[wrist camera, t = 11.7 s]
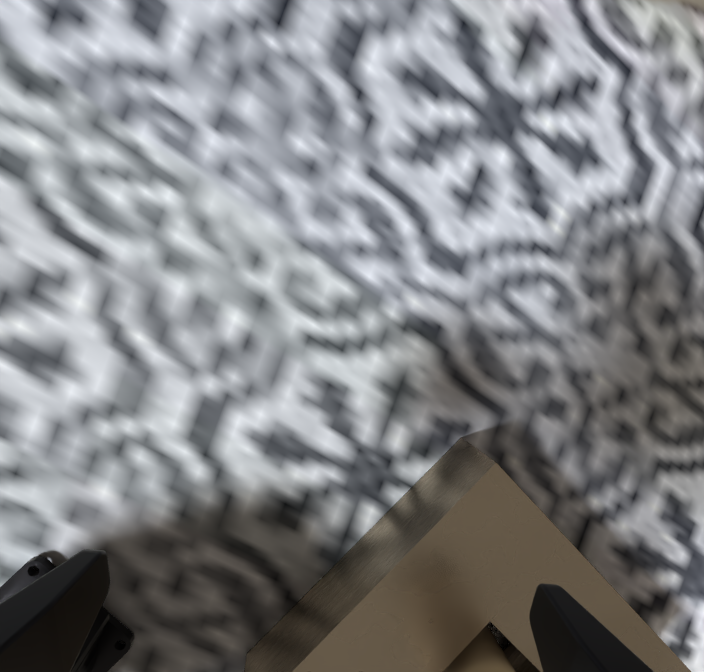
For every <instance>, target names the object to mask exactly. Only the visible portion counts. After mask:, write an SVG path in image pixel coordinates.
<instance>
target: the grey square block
mask: <svg viewBox="0 0 704 672" xmlns="http://www.w3.org/2000/svg"><path fill="white" fill-rule="evenodd" d="M541 583H544V584H556V585H559V586H561V587H562V588H563V589H564V590H566V591H567V592H568V593H569V594H570V595H571V596H572V597H573V598H574V599H575V600H576V601H578V602H579V603H580V604H581V605H582V606H583V607H584V608H585V609H586V610H587V611H588V612H590V613H591V614H592V615H593V616H594V617H595V618H596V619H597V620H598V621H599V622H600V623H602V624H603V625H604V626H605V627H606V628H607V629H608V630H609V631H610V632H611V633H612V634H614V635H615V636H616V637H617V638H618V639H619V640H620V641H621V642H622V643H623V644H624V645H626V646H627V647H628V648H629V649H630V650H631V651H632V652H633V653H634V654H635V655H636V656H638V657H639V658H640V659H641V660H642V661H643V662H644V663H645V664H646V665H647V666H648V667H650V668H651V669H652V670H653V671H654V672H691V671H690V670H689V669H688V668H687V667H686V666H685V665H684V663H683V662H682V661H681V660H680V659H679V658H678V657H677V656H676V655H675V654H674V653H673V652H672V651H671V649H670V648H669V647H668V646H667V645H666V644H665V643H664V642H663V641H662V640H661V639H660V638H659V637H658V636H657V634H656V633H655V632H654V631H653V630H652V629H651V628H650V627H649V626H648V625H647V624H646V623H645V622H644V621H643V619H642V618H641V617H640V616H639V615H638V614H637V613H636V612H635V611H634V610H633V609H632V608H631V607H630V606H629V604H628V603H627V602H626V601H625V600H624V599H623V598H622V597H621V596H620V595H619V594H618V593H617V592H616V590H615V589H614V588H613V587H612V586H611V585H610V584H609V583H608V582H607V581H606V580H605V579H604V578H603V577H602V575H601V574H600V573H599V572H598V571H597V570H596V569H595V568H594V567H593V566H592V565H591V564H590V563H589V562H588V560H587V559H586V558H585V557H584V556H583V555H582V554H581V553H580V552H579V551H578V550H577V549H576V548H575V547H574V545H573V544H572V543H571V542H570V541H569V540H568V539H567V538H566V537H565V536H564V535H563V534H562V533H561V532H560V530H559V529H558V528H557V527H556V526H555V525H554V524H553V523H552V522H551V521H550V520H549V519H548V518H547V516H546V515H545V514H544V513H543V512H542V511H541V510H540V509H539V508H538V507H537V506H536V505H535V504H534V503H533V501H532V500H531V499H530V498H529V497H528V496H527V495H526V494H525V493H524V492H523V491H522V490H521V489H520V488H519V486H518V485H517V484H516V483H515V482H514V481H513V480H512V479H511V478H510V477H509V476H508V475H507V474H506V473H505V471H504V470H503V469H502V468H501V467H500V466H499V465H498V464H497V463H496V462H495V461H493V460H492V459H490V458H489V457H488V456H486V455H485V454H483V453H482V452H481V451H479V450H478V449H476V448H475V447H474V446H472V445H471V444H469V443H468V442H467V441H465V440H464V439H462V438H460V439H459V440H458V441H457V442H456V443H455V444H454V445H453V446H452V447H451V448H450V450H449V451H448V452H447V453H446V454H445V455H444V456H443V457H442V458H441V459H440V460H439V461H438V462H437V463H436V464H435V465H434V466H433V467H432V468H431V469H430V470H429V471H428V472H427V473H426V474H425V475H424V476H423V477H422V478H421V479H420V480H419V481H418V482H417V483H416V484H415V485H414V486H413V487H412V488H411V489H410V490H409V491H408V492H407V493H406V494H405V495H404V496H403V497H402V498H401V499H400V500H399V501H398V502H397V503H396V504H395V505H394V506H393V507H392V508H391V509H390V510H389V511H388V512H387V513H386V514H385V515H384V516H383V517H382V518H381V519H380V520H379V521H378V522H377V523H376V524H375V525H374V526H373V527H372V528H371V529H370V530H369V531H368V532H367V533H366V534H365V535H364V536H363V537H362V538H361V539H360V540H359V541H358V542H357V543H356V544H355V545H354V546H353V547H352V548H351V549H350V550H349V551H348V552H347V553H346V554H345V555H344V556H343V557H342V558H341V559H340V560H339V562H338V563H337V564H336V565H335V566H334V567H333V568H332V569H331V570H330V571H329V572H328V573H327V574H326V575H325V576H324V577H323V578H322V579H321V580H320V581H319V582H318V583H317V584H316V585H315V586H314V587H313V588H312V589H311V590H310V591H309V592H308V593H307V594H306V595H305V596H304V597H303V598H302V599H301V600H300V601H299V602H298V603H297V604H296V605H295V606H294V607H293V608H292V609H291V610H290V611H289V612H288V613H287V614H286V615H285V616H284V617H283V618H282V619H281V620H280V621H279V622H278V623H277V624H276V625H275V626H274V627H273V628H272V629H271V630H270V631H269V632H268V633H267V634H266V635H265V636H264V637H263V638H262V639H261V640H260V641H259V642H258V643H257V644H256V645H255V646H254V647H253V648H252V649H251V650H250V651H249V652H248V653H247V657H246V663H245V670H244V672H443V671H444V670H445V669H446V668H447V667H448V666H449V664H450V663H451V662H452V661H453V660H454V659H455V658H456V657H457V656H458V655H459V654H460V653H461V652H462V651H463V650H464V649H465V647H466V646H467V645H468V644H469V643H470V642H471V641H472V640H473V639H474V638H475V637H476V636H477V635H478V634H479V633H480V632H481V631H482V629H483V628H484V627H485V626H486V625H487V624H488V623H489V622H491V623H492V624H493V625H494V626H495V627H496V628H497V629H498V630H499V631H500V632H501V633H502V634H503V635H504V636H505V637H506V638H507V639H508V640H509V641H510V642H511V643H510V645H509V646H508V647H507V648H506V649H505V650H504V651H503V652H504V653H505V655H506V657H507V658H508V660H509V662H510V663H511V665H512V666H513V668H514V670H515V671H516V672H543V669H542V666H541V662H540V658H539V655H538V651H537V648H536V644H535V640H534V637H533V633H532V629H531V625H530V619H529V614H530V609H531V605H532V602H533V598H534V595H535V591H536V588H537V586H538V585H539V584H541Z"/></svg>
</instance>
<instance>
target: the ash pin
mask: <svg viewBox="0 0 704 672" xmlns="http://www.w3.org/2000/svg"><path fill="white" fill-rule="evenodd" d="M443 672H516V671H515V670H514V668H513V666H512V665H511V663H510V662H509V660H508V658H507V657H506V655H505V653H504V652H503V650H502V648H501V647H500V645H499V644H498V642H497V640H496V639H495V637H494V635H493V634H492V632H491V630H490V629H489V627H488V625H486V626H485V627H484V628H483V629H482V631H481V632H480V633H479V634H478V635H477V636H476V637H475V638H474V639H473V640H472V641H471V642H470V643H469V644H468V645H467V646H466V647H465V649H464V650H463V651H462V652H461V653H460V654H459V655H458V656H457V657H456V658H455V659H454V660H453V661H452V662H451V663H450V664H449V666H448V667H447V668H446V669H445V670H444V671H443Z"/></svg>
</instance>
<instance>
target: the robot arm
mask: <svg viewBox="0 0 704 672" xmlns="http://www.w3.org/2000/svg"><path fill="white" fill-rule="evenodd" d="M33 566H36V567H38V569H39V571H36V570H34V568H33ZM109 586H110V575H109V566H108V557H107V553H106V552H105V551H103V550H92V549H86V550H83V551H81V552H79V553H78V554H76V555H75V556H73V557H71V558H70V559H68V560H67V561H65V562H64V563H62V564H61V565H59V566H58V567H56V566H55V565H54V564H52V563H51V562H50V561H49V560H48V559H47V558H45V557H43V556H36V557H34V558H32V559H31V560H29V561H28V562H27V563H26V564H25V565H24V566H23V567H22V568H21V569H20V570H18V571H17V572H16V573H15V574H14V575H13V576H12V577H11V578H10V579H9V580H8V581H7V582H6V583H5V584H4V585H2V586H1V587H0V672H107V671H108V670H109V669H110V668H111V667H112V666H114V665H115V664H116V663H117V662H118V661H119V660H120V659H121V658H122V657H123V656H124V655H125V654H126V653H127V652H128V650H129V649H130V647H131V645H132V643H133V641H134V635H133V633H132V632H131V631H130V630H129V629H128V628H127V627H126V626H124V625H123V624H122V623H121V622H120V621H119V620H117V619H116V618H115V617H114V616H113V615H112V614H110V613H109V612H108V611H107V610H106V609H105V608H103V607H102V604H103V602H104V600H105V597H106V595H107V593H108V590H109ZM529 619H530V625H531V629H532V633H533V637H534V640H535V644H536V648H537V651H538V655H539V658H540V662H541V666H542V669H543V672H654V671H653V670H652V669H651V668H650V667H648V666H647V665H646V664H645V663H644V662H643V661H642V660H641V659H640V658H639V657H638V656H636V655H635V654H634V653H633V652H632V651H631V650H630V649H629V648H628V647H627V646H626V645H624V644H623V643H622V642H621V641H620V640H619V639H618V638H617V637H616V636H615V635H614V634H612V633H611V632H610V631H609V630H608V629H607V628H606V627H605V626H604V625H603V624H602V623H600V622H599V621H598V620H597V619H596V618H595V617H594V616H593V615H592V614H591V613H590V612H588V611H587V610H586V609H585V608H584V607H583V606H582V605H581V604H580V603H579V602H578V601H576V600H575V599H574V598H573V597H572V596H571V595H570V594H569V593H568V592H567V591H566V590H564V589H563V588H562V587H561V586H559V585H556V584H544V583H541V584H539V585H538V586H537V588H536V591H535V595H534V598H533V602H532V605H531V609H530V614H529ZM118 640H122V641H124V642H125V644H121V643H119V641H118Z"/></svg>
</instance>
